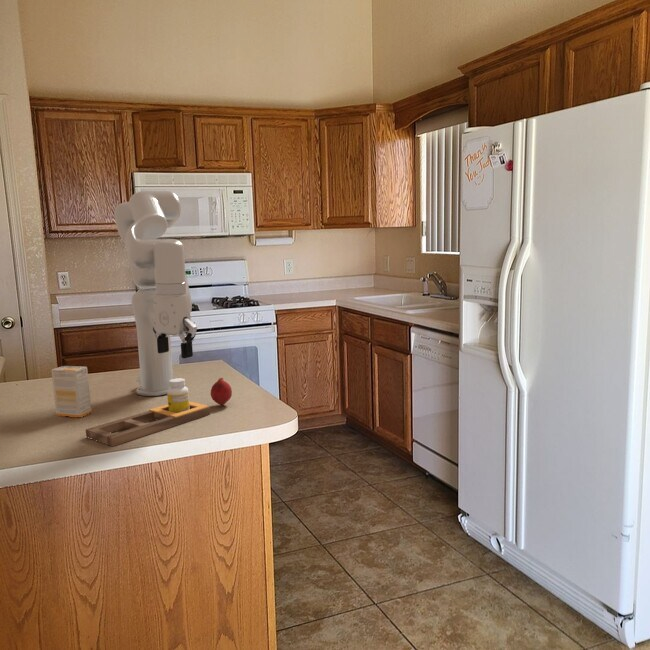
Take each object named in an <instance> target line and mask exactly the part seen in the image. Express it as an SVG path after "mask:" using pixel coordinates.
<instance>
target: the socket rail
mask: <svg viewBox="0 0 650 650" xmlns="http://www.w3.org/2000/svg"><path fill="white" fill-rule="evenodd" d="M189 406H190V409H189V410H186V411H183V412H179V413H174V412H170V411H169V407H168V403H167V404H164V405H161V406H160V405H159V406H156V407H153V408H150V409H148V411H144V412H140V413H137V414H134V415H129V416H127V417H123V418H120V419H117V420H114V421H110V422H106V423H103V424H100V425H95V426H94V427H93V426H92V427H90V428H86V429H85V437H86V436H87V437H89V438H92V439H95V440H97V441H96V442H98V441H100V442H99V443H101V442H102V444H104V443H105V444H104V445H107V446H110V447H116V446H118V445H121V444H124V443H127V442H130V441H134V440H137V439H140V438H141V437H142V438H143V437H145V436H148V435H152V434H154V433H157V432H161V431H163V430H167V429H170V428H173V427H175V426H178V425H181V424H184V423H188V422H191V421H193V420H196V419H199V418H204V417H205V416H208V415H209V416H210V415H211V413H210V411H211V410H210V405H206V404H202V403H197V402H195V401H190V400H189ZM154 420H155V421H154ZM150 421H152V422H150ZM147 422H149V423H147ZM121 429H122V430H121ZM126 429H127V430H126ZM117 430H119V431H120V432H118V431H117ZM123 430H124V431H123ZM114 431H115V432H117V433H115V432H114ZM110 432H112V433H110ZM89 438H88V439H89ZM92 439H91V440H92ZM95 440H94V441H95Z"/></svg>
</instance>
